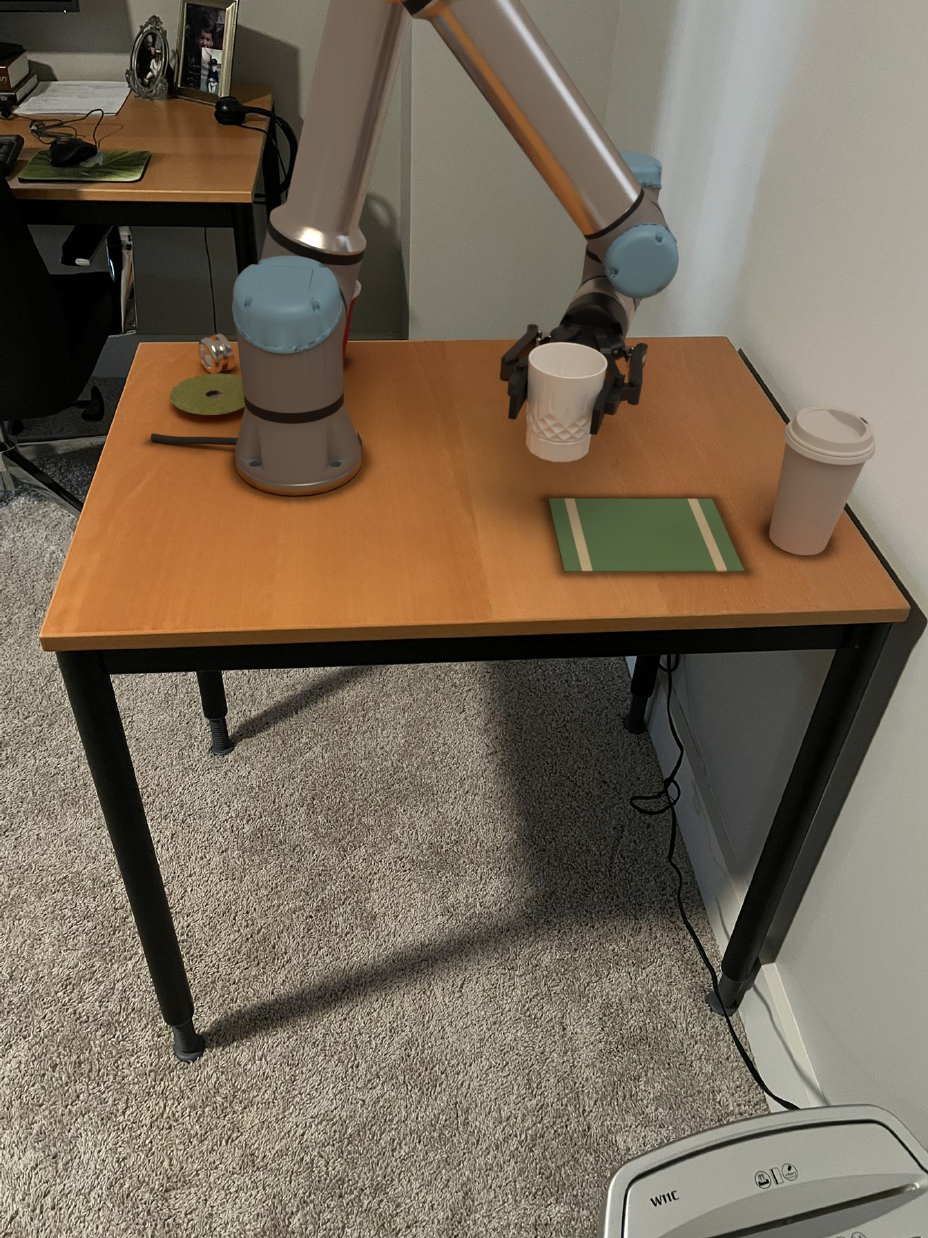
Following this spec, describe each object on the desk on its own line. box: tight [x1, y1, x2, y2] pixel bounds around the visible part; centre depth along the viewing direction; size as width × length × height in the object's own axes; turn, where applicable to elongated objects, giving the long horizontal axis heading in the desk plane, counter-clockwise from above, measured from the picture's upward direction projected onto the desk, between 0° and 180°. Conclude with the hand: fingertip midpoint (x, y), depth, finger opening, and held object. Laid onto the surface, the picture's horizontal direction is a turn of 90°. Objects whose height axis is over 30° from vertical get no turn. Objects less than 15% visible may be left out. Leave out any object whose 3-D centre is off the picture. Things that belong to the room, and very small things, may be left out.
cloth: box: [548, 498, 745, 573], centre depth 114 cm, size 20×14×1 cm
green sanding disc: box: [169, 372, 245, 416], centre depth 131 cm, size 11×11×2 cm
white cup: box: [525, 342, 607, 463], centre depth 102 cm, size 8×8×10 cm
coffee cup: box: [768, 405, 876, 556], centre depth 109 cm, size 10×10×15 cm
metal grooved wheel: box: [197, 333, 235, 374], centre depth 138 cm, size 5×3×5 cm, turn 41°
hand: (553, 414), depth 98 cm, fingers closed on white cup, 8 cm apart
